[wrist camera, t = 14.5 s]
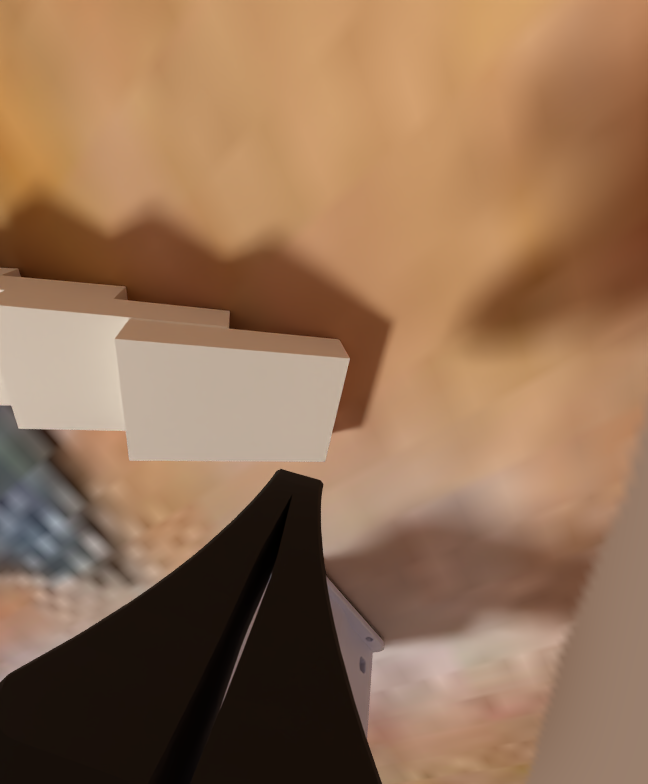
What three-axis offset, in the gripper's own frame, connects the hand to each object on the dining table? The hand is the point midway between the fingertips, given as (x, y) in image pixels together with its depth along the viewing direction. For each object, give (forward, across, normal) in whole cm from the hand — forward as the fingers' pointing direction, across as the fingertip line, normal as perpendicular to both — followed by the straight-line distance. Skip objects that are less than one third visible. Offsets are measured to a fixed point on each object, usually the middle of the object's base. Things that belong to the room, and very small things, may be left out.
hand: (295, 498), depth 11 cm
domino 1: (+6, 0, 0) cm, 6 cm away
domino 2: (+6, +5, 0) cm, 7 cm away
